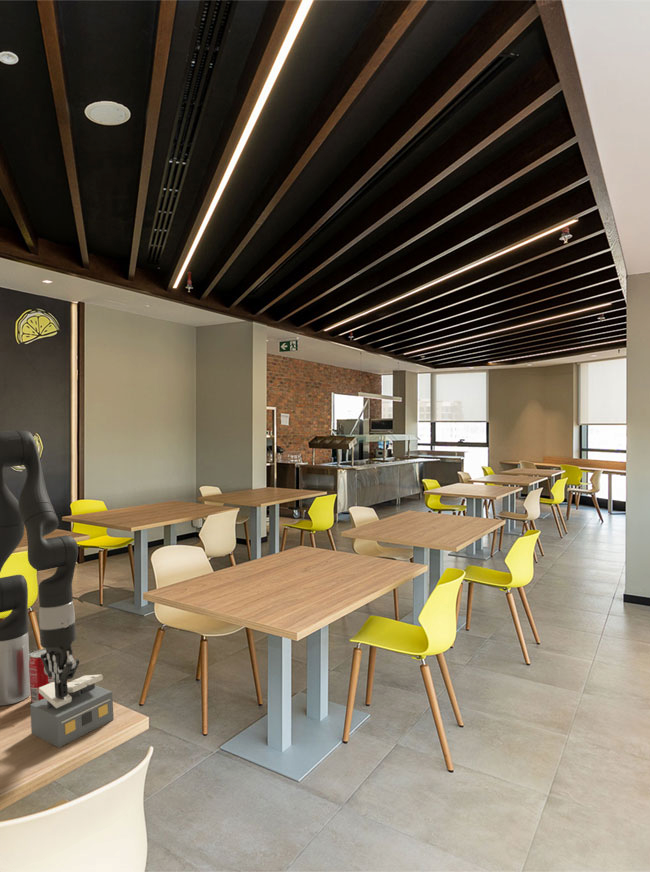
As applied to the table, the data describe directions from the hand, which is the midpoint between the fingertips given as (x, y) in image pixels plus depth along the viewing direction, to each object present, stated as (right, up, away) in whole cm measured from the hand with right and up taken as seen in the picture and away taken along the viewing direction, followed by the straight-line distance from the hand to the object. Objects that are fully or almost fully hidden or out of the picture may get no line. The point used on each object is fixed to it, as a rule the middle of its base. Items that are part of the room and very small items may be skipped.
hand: (61, 696), depth 127 cm
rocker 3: (+2, -1, +9) cm, 9 cm away
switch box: (0, -10, +5) cm, 11 cm away
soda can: (-14, -11, +20) cm, 26 cm away
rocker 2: (0, -1, +5) cm, 5 cm away
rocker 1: (-2, -1, +2) cm, 3 cm away
